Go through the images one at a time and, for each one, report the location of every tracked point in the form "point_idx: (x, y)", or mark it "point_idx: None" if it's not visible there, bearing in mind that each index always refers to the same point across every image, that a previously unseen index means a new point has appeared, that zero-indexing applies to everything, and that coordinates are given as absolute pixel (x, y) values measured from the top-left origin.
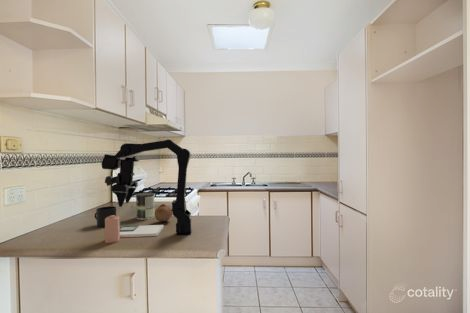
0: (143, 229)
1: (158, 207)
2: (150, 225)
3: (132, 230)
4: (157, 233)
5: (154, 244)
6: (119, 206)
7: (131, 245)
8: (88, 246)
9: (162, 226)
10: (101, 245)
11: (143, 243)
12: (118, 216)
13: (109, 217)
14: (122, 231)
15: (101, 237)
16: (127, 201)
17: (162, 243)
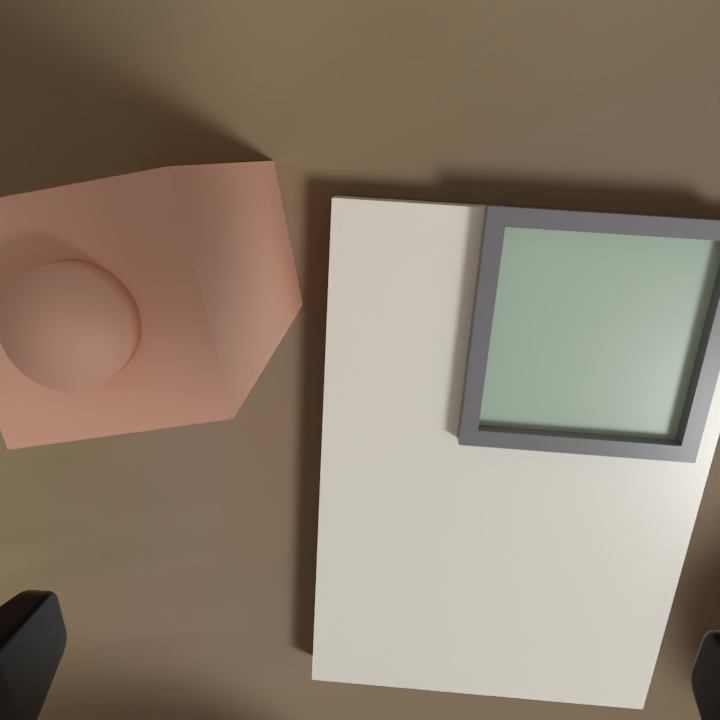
0: (501, 533)
1: None
2: (670, 582)
3: (459, 425)
4: (335, 674)
5: (74, 662)
6: (30, 596)
7: (51, 486)
8: (20, 5)
9: (584, 700)
10: (54, 168)
11: (103, 576)
12: (180, 415)
13: (25, 277)
14: (474, 296)
15: (375, 31)
16: (717, 703)
17: (97, 713)
